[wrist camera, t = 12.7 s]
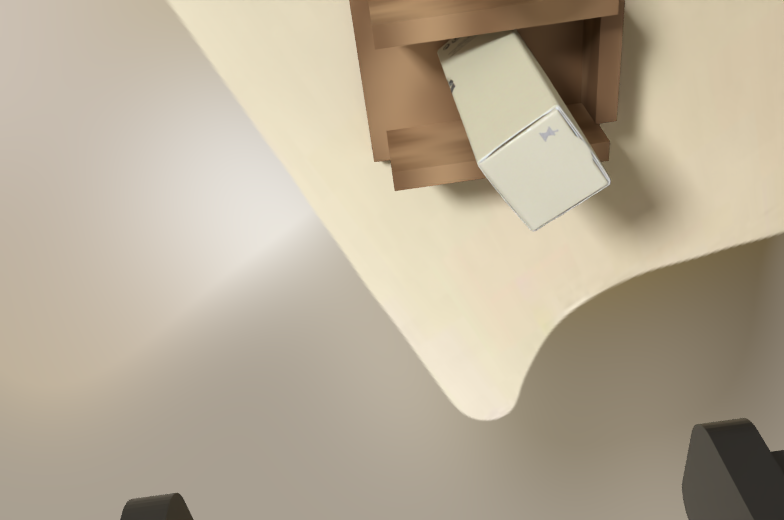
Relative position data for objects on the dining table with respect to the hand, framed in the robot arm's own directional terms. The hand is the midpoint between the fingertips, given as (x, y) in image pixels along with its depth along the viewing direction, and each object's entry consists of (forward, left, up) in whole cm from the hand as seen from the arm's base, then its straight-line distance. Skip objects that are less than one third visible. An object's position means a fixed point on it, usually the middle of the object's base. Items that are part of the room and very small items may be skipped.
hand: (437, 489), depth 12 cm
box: (-7, +7, -33) cm, 35 cm away
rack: (-6, +7, -34) cm, 35 cm away
